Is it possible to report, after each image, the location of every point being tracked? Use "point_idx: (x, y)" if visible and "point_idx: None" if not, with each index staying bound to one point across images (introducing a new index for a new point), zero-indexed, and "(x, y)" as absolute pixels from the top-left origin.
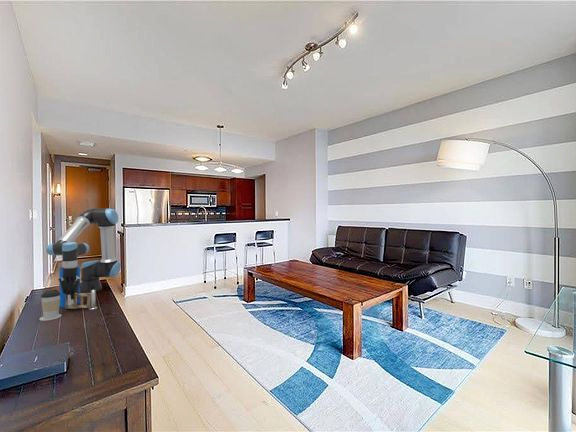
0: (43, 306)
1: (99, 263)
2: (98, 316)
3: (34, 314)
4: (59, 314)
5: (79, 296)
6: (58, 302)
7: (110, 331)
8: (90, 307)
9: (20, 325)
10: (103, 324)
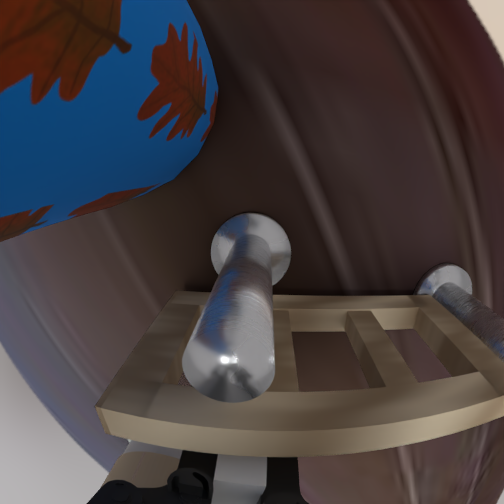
0: None
1: None
2: (467, 433)
3: (31, 345)
4: None
5: (200, 42)
6: None
7: (472, 501)
8: (423, 289)
9: None
10: (468, 482)
